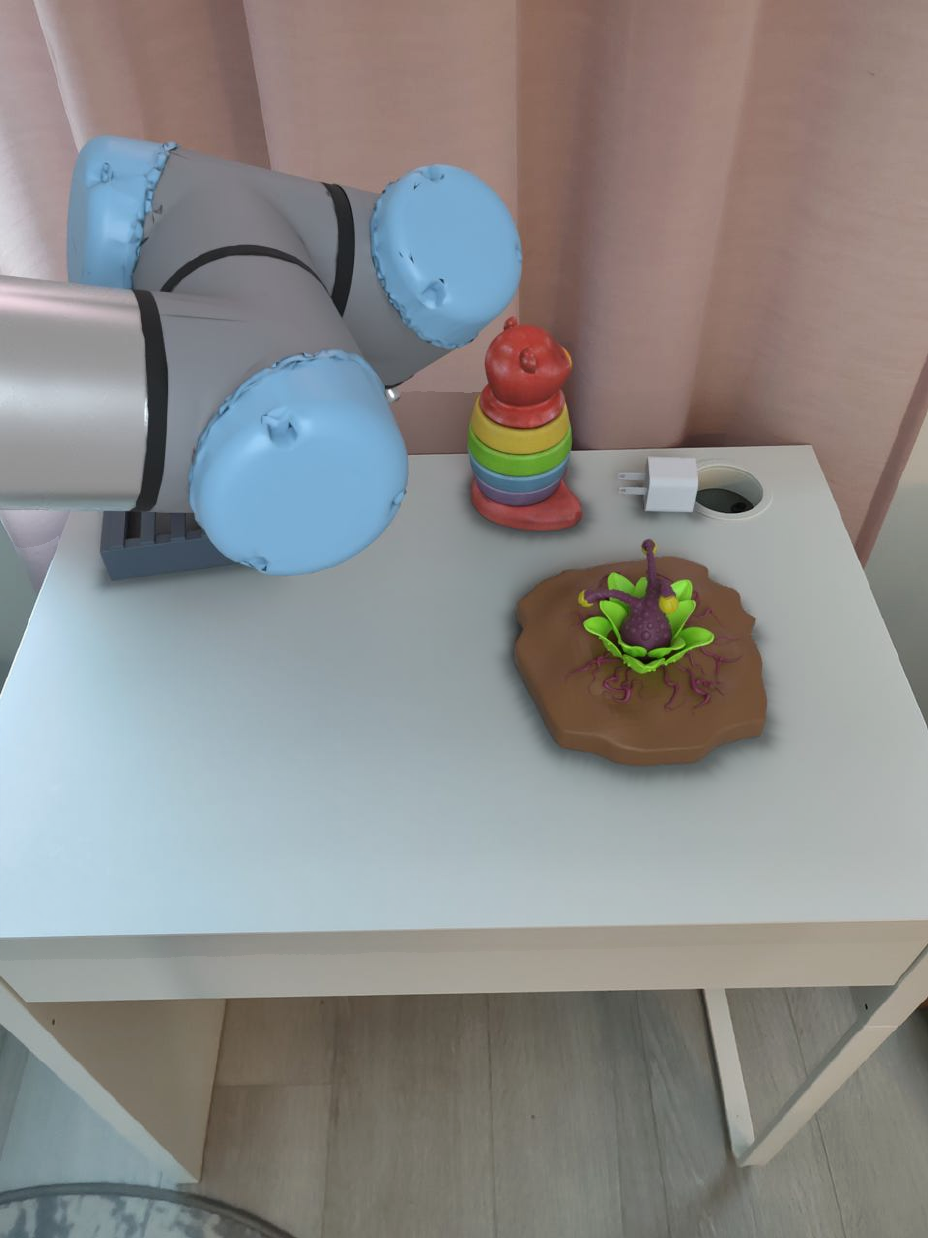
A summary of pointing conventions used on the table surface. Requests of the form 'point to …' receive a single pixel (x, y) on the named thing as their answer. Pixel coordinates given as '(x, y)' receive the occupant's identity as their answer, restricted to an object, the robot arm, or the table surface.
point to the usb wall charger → (666, 484)
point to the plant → (641, 661)
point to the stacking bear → (523, 433)
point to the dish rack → (155, 547)
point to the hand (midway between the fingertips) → (227, 441)
